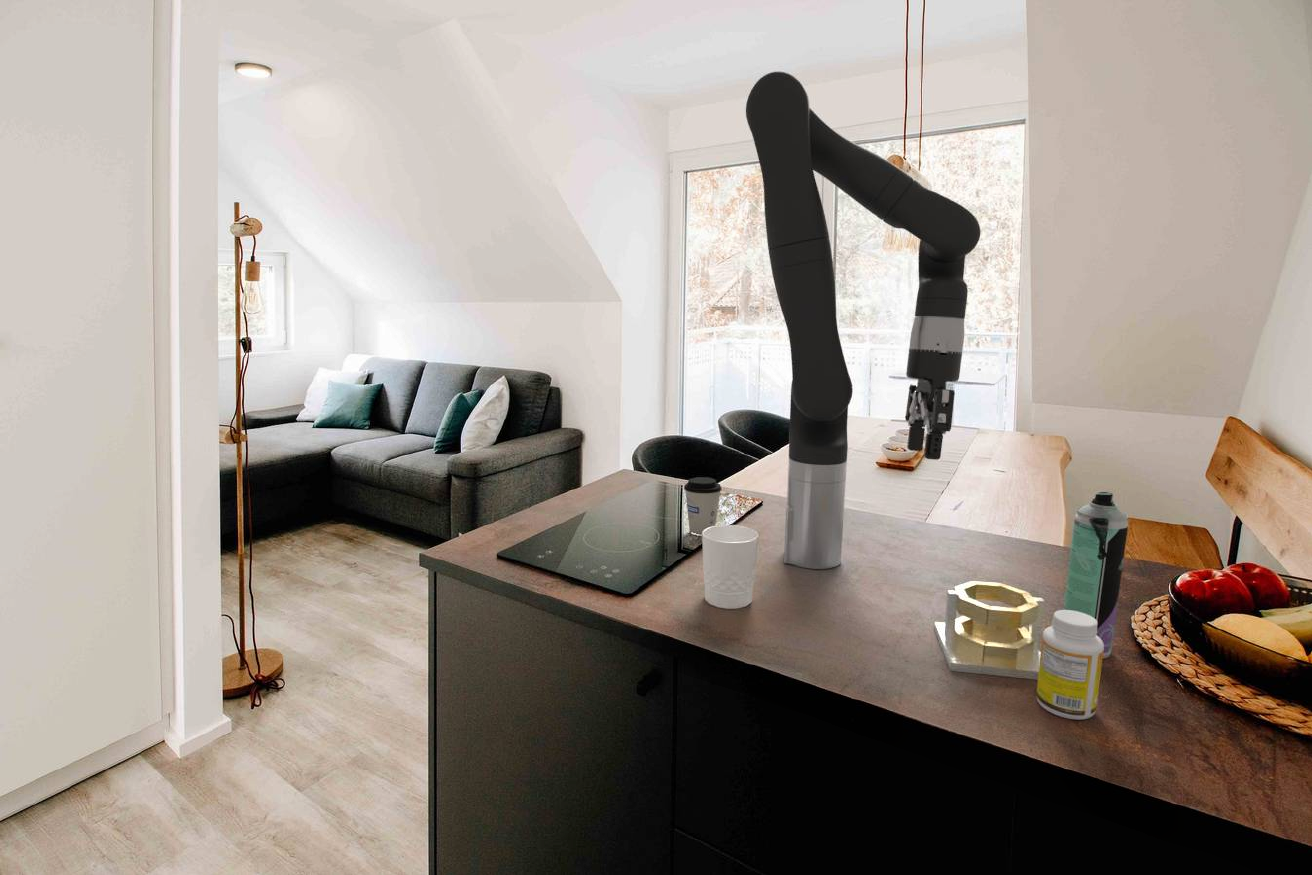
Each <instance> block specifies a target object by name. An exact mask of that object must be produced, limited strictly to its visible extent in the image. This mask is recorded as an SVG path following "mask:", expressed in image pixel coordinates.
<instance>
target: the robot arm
mask: <svg viewBox="0 0 1312 875" xmlns="http://www.w3.org/2000/svg"><path fill="white" fill-rule="evenodd" d="M745 104H746V105H745V119H746V122H747V125H748V128H749V130H750V133H751V135H752V139H753V142H754V146H755V150H756V154H757V159H758V162H759V166H760V170H761V176H762V178H761V179H762V184H763V200H764V201H763V202H764V221H765V232H766V241H767V242H766V243H767V249H768V256H769V262H770V269H771V276H772V278H773V282H774V287H775V291H776V295H777V299H778V302H779V306H780V309H781V312H782V315H783V319H784V322H785V325H786V326H785V327H786V329H787V334H788V338H789V346H790V347H789V348H790V357H791V358H790V359H791V373H792V376H791V378H792V380H791V388H790V405H789V406H790V408H789V411H790V412H789V429H788V431H789V432H788V434H789V435H788V471H787V487H786V488H787V490H786V505H785V506H786V507H785V530H784V532H785V533H784V552H783V563H784V564H788V565H789V564H790V565H793V566H796V567H800V568H805V569H811V570H812V569H813V570H824V569H825V570H826V569H833V568H835V567H838V566H839V565H841V563H842V553H843V536H844V535H843V534H844V517H845V516H844V515H845V501H846V483H847V465H848V464H847V463H848V450H849V448H848V442H849V441H848V418H849V416H848V414H849V413H848V412H849V405H850V403H851V400H852V398H853V384H852V379H851V377H850V374H849V370H848V366H847V362H846V360H845V356H844V352H843V348H842V342H841V339H840V335H839V328H838V322H837V298H836V296H837V295H836V294H837V293H836V284H835V283H836V280H835V271H834V261H833V260H834V258H833V252H832V248H831V241H830V234H829V228H828V225H827V224H828V223H827V220H826V219H827V218H826V214H825V212H824V211H825V210H824V207H823V202H822V199H821V195H820V191H819V187H818V183H817V180H816V178H815V173H818V175H820V176H822V177H823V178H825V179H826V180H827V181H829V182H831V183H832V184H833V185H834V186H836V187H837V188H839V190H841V191H842V192H844V193H845V194H846V195H847V196H849V197H850V198H851V199H853V201H855V202H856V203H858V204H859V205H861V206H862V207H864V208H865V209H866V210H868V211H869V212H870V213H872V214H873V215H874V216H875V217H877V218H878V219H880V220H881V221H883V222H884V223H885V224H887V225H888V226H891V227H893V228H895V229H902V230H905V231H907V233H908V232H909V233H910V234H912V235H913V236H914V237H916V238H917V239H919V245H918V246H919V247H918V291H917V295H916V301H915V312H914V318H913V323H912V327H911V332H910V340H909V348H908V358H907V365H906V373H905V374H906V377H907V378H908V379H911V380H912V379H913V380H917V384H910V385H909V388H908V397H907V401H906V402H907V403H906V411H905V416H904V418H905V422H907V426H908V427H909V429H908V439H907V446H906V448H907V449H908V451H913V452H920V451H921V452H922V451H923V457H924V459H927V460H937V461H938V460H940V459H941V456H942V455H941V454H942V448H943V439H944V435H946V434H947V432H950V431H951V429H952V421H953V415H954V414H953V412H954V405H955V404H954V402H955V395H956V392H955V390H953V389H949V388H948V389H947V383H948V382H953V383H956V382H957V381H959V380H960V373H961V366H962V365H961V364H962V357H963V349H964V342H965V319H966V312H967V302H968V294H969V292H968V285H967V283H966V281H965V280H964V274H965V273H964V272H965V262H966V261H965V260H966V256H967V255H968V254H970V253H971V252H972V251H973V250H974V249H975V248H976V246H977V245H978V243H979V241H980V237H981V227H980V224H979V221H978V219H977V218H976V216H975V215H974V214H972V212H971V211H970V210H968V209H967V208H965V207H964V206H963V205H961V204H960V203H958V202H956V201H955V200H953V199H951V198H949V197H946V196H944V195H942V194H940V193H938V192H936V191H935V190H931V189H929V188H926V187H925V186H923V184H921V183H920V182H918V181H917V180H916V179H914V178H913V177H912V176H911V175H909V174H908V173H907V172H905V171H903V169H901V168H899V167H898V166H897V165H895V164H894V163H892V162H891V161H890V160H888V159H887V158H884V157H883V156H881V155H879V154H877V153H875V152H873V151H871V150H869V149H867V148H866V147H863V146H861V145H860V144H857V143H854V142H852V141H851V140H849V139H848V138H846V137H845V136H842V135H841V134H840V133H838V132H837V131H835V129H833V128H831V127H830V126H829V125H828V124H827V123H825V122H824V120H822V119H821V118H820V116H818V115H817V114H816V113H815V111H814V110H812V108H811V107H810V99H809V94H808V91H807V90H806V88H805V86H804V85H803V84H802V83H801V81H800V80H799V79H798V78H796V77H795V76H794V75H792V74H790V73H788V72H785V71H777V70H776V71H772V72H769V73H767V74H764V75H763V76H762V77H760V78H759V79H758V80H757V81H756V82H755V84H754V85H753V86H752V88H751V89H750V92H749V94H748V96H747V100H746V103H745ZM814 171H815V173H814ZM925 430H926V433H925ZM924 438H925V439H924ZM924 441H925V442H924ZM924 443H925V444H924ZM923 447H924V450H923Z"/></svg>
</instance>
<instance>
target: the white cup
mask: <svg viewBox="0 0 1312 875" xmlns="http://www.w3.org/2000/svg"><path fill="white" fill-rule="evenodd" d="M701 539H702V542H701V543H702V565H703V567H702V568H703V570H702V571H703V572H702V573H703V582H704V599H705V601H706V602H707V603H708V604H709V605H711V606H712V607H713V606H714V607H715V608H718V609H727V610H731V609H742V608H746V607H748V606H749V605H750V604H751V603H752V601H753V589H754V583H755V576H756V565H757V554H758V542H759V533H758V532H757V531H756V530H755V529H752V528H750V527H746V526H743V525H735V524H719V525H715V526H712V527H709V528H706V529H705V530H703V532H702V538H701Z"/></svg>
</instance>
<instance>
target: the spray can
mask: <svg viewBox="0 0 1312 875" xmlns="http://www.w3.org/2000/svg"><path fill="white" fill-rule="evenodd" d="M1113 499H1114V495H1113V493H1112V492H1107V491H1099V492H1097V493H1096V494H1095V497H1094V498H1093V499H1092V500H1090V501H1089V503H1088V504H1085V505H1084V506H1080V507H1077V508H1076V514H1075V515H1074V521H1073V522H1074V523H1073V530H1072V537H1071V547H1070V554H1069V562H1068V571H1067V580H1066V587H1065V595H1064V603H1063V610H1072V611H1078V612H1081V613H1085V614H1087V615H1090V616H1092V617H1093V618H1095V619H1096V620H1097V623H1098V624H1097V634H1096V635H1097V636H1098V637H1099V638H1100V639H1101V640H1102V642H1103V644H1104V651H1103V659H1106V658H1109V657H1110V656H1111V653H1112V648H1113V647H1112V646H1113V639H1114V633H1115V625H1116V624H1115V623H1116V618H1117V617H1116V616H1117V611H1118V602H1119V596H1120V590H1121V589H1120V588H1121V580H1122V572H1123V567H1124V566H1123V565H1124V559H1125V552H1126V545H1127V538H1128V537H1127V536H1128V529H1129V515H1128V514H1127V513H1125V511H1122V510H1121V509H1119V508H1118V504H1117V503H1115V501H1114V500H1113Z"/></svg>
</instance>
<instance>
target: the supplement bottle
mask: <svg viewBox="0 0 1312 875" xmlns="http://www.w3.org/2000/svg"><path fill="white" fill-rule="evenodd" d="M1051 624H1052V625H1051V626H1048V627H1047V628H1045V629H1044V630H1043V632H1042V637H1041V649H1040V653H1041V655H1040V664H1039V674H1038V680H1037V685H1036V693H1035V694H1036V700H1037V702H1038V704H1039V705H1040V707H1042V708H1043V709H1044V710H1046V711H1047V712H1050V714H1054V715H1055V716H1057V717H1058V716H1059V717H1060V718H1064V719H1069V720H1078V721H1079V720H1087V719H1090V718H1092V717H1093V716H1095V714H1096V711H1097V706H1098V705H1097V704H1098V698H1099V688H1100V683H1101V682H1100V681H1101V672H1102V665H1103V659H1104V658H1103V651H1104V644H1103V642H1102V640H1101V639H1100V638H1099V637H1098V636H1097V635H1096V634H1097V624H1098V623H1097V620H1096V619H1095V618H1093V617H1092V616H1090V615H1087V614H1085V613H1081V612H1078V611H1072V610H1064V609H1060V610H1056V611H1055V612H1053V616H1052V621H1051Z"/></svg>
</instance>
